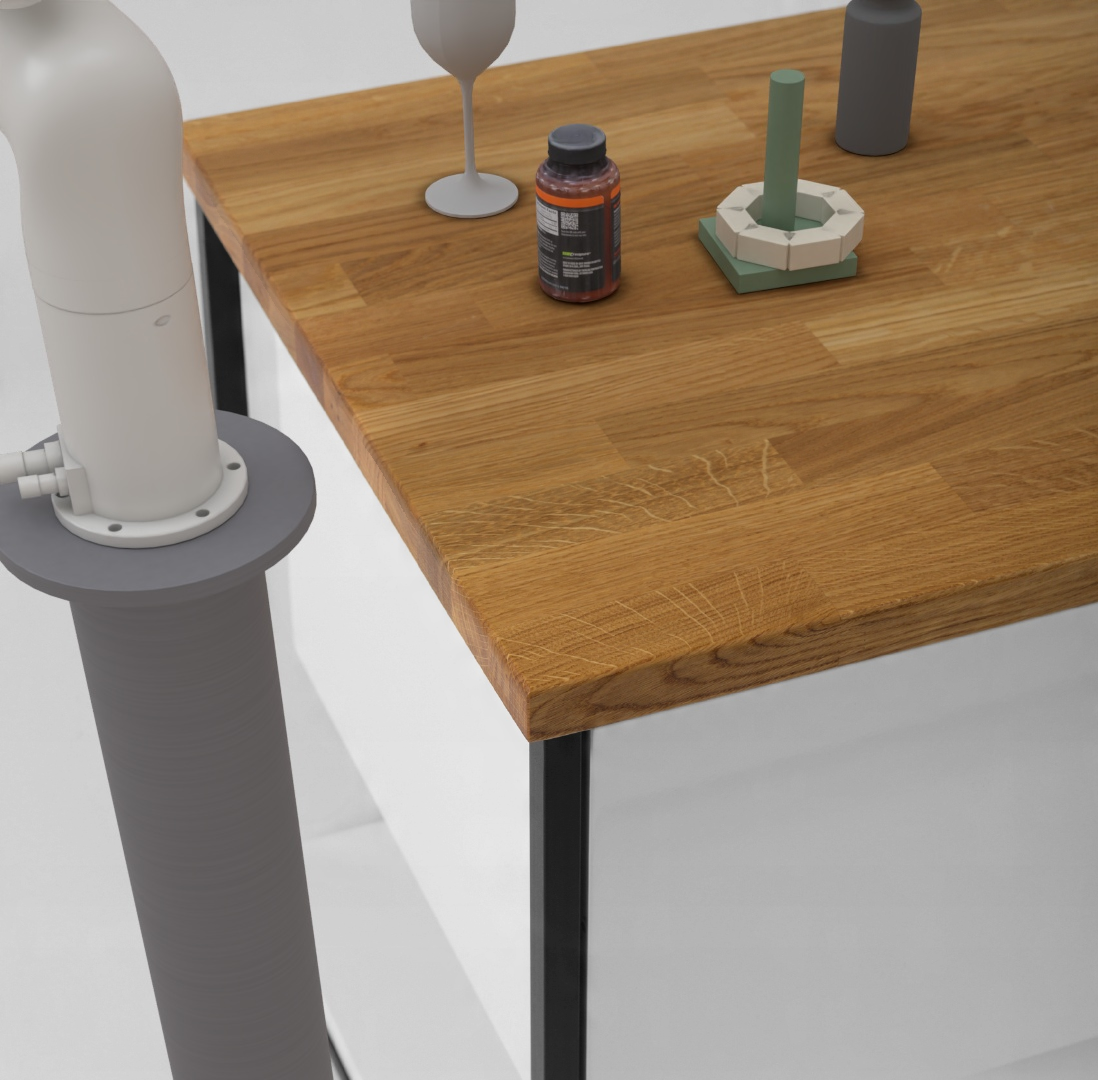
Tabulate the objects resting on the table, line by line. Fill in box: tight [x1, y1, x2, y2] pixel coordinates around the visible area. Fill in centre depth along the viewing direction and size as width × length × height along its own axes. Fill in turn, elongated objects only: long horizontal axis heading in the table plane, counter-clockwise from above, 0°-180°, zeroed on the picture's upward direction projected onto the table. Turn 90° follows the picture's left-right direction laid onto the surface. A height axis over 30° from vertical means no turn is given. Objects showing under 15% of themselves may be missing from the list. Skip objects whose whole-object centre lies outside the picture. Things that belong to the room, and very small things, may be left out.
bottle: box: [834, 0, 923, 156], centre depth 159 cm, size 6×6×15 cm
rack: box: [697, 68, 858, 294], centre depth 145 cm, size 9×9×14 cm
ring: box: [715, 178, 865, 271], centre depth 148 cm, size 10×10×2 cm
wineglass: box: [409, 0, 519, 219], centre depth 150 cm, size 8×8×21 cm
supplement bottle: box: [535, 123, 622, 303], centre depth 143 cm, size 6×6×11 cm
